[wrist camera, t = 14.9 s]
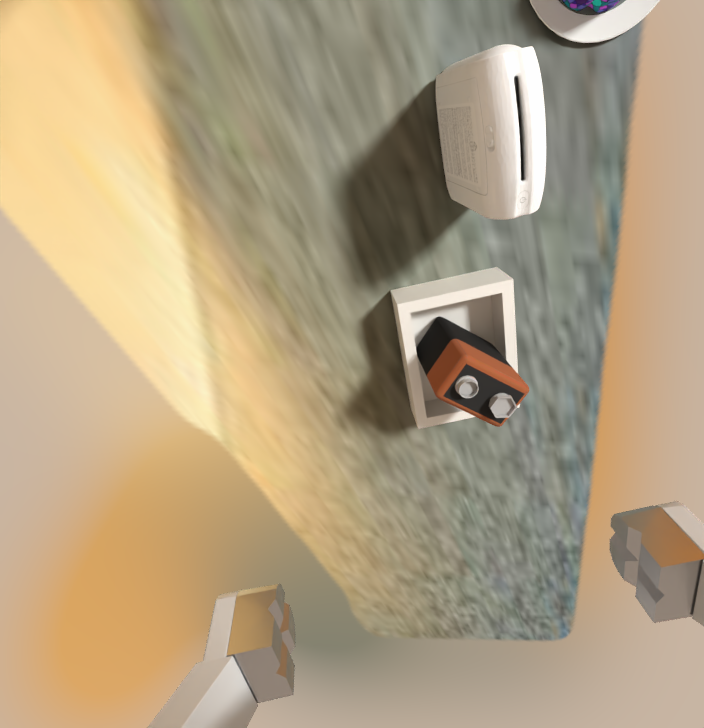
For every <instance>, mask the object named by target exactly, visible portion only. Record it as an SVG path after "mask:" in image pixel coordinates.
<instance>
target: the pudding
mask: <svg viewBox="0 0 704 728" xmlns="http://www.w3.org/2000/svg"><path fill="white" fill-rule="evenodd" d="M619 1H620V0H563V2H564V3H565V4H566V5H567V6H568V7H569V8H570V9H573V10H576V11H580V10H581V9H583V8H585V7H587V6H590V7H591V8H592V9H593V10H594V11H595V12H603V11H607V10H608V9H610V8H612V7H613V6H615V5H616V4H617V3H618V2H619ZM659 1H660V0H626V1H625V2H624V3H622V4H621V5H619V6H618V7H616V8H615V9H613V10H610V11H608V12H606V13H602V14H598V15H582V14H577V13H575V12H573V11H571V10H569V9H567V8H566V7H565V6H563V5H562V4H561V3H560V2H559V1H558V0H530V3H531V5H532V7H533V8H534V10H535V12H536V13H537V15H538V17H539V18H540V19H541V20H542V21H543V23H544V24H545V25H546V26H547V27H548V28H549V29H551V30H552V31H553V32H555V33H556V34H557V35H559V36H561V37H563V38H566V39H568V40H570V41H576V42H581V43H593V42H600V41H604V40H608V39H612V38H614V37H616V36H618V35H620V34H622V33H624V32H626V31H627V30H629V29H630V28H632V27H633V26H635V25H636V24H638V23H639V22H640V21H641V20H642V19H643V18H644V17H645V16H646V15H647V14H648V13H650V11H651V10H652V9H653V8H654V7H655V5H656V4H657V3H658V2H659Z"/></svg>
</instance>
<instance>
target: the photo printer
mask: <svg viewBox="0 0 704 728" xmlns="http://www.w3.org/2000/svg"><path fill="white" fill-rule="evenodd" d="M436 106H437V116H438V125H439V134H440V143H441V150H442V158H443V166H444V173H445V179H446V184H447V188H448V192H449V195H450V197H451V199H452V200H454V201H456V202H458V203H460V204H462V205H464V206H466V207H468V208H469V209H471V210H473V211H475V212H477V213H479V214H481V215H482V216H484V217H486V218H489V219H513V218H517V217H520V216H522V215H526V214H531V213H533V212H535V211H537V210H538V208H539V207H540V203H541V199H542V195H543V190H544V182H545V170H546V124H545V107H544V96H543V87H542V80H541V73H540V69H539V64H538V60H537V57H536V54H535V51H534V48H533V47H532V46H530V47H525V48H520V47H518V46H515V45H510V44H506V45H499V46H496V47H493V48H491V49H488V50H486V51H483V52H481V53H478V54H476V55H473V56H471V57H468V58H466V59H463V60H461V61H458V62H456V63H454V64H452V65H450V66H448V67H447V68H446V69H445V70H444V71H443V72H442V73H441V74H438V75H437V77H436Z"/></svg>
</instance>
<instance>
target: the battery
mask: <svg viewBox="0 0 704 728" xmlns="http://www.w3.org/2000/svg"><path fill="white" fill-rule="evenodd" d="M416 352H417V357H418V359H419V361H420V363H421V365H422V368H423V370H424V372H425V374H426V376H427V378H428V380H429V383H430V385H431V387H432V389H433V391H434V393H435V395H436V397H437V398H438V399H440V400H442V401H444V402H446V403H448V404H450V405H452V406H454V407H457V408H459V409H461V410H463V411H465V412H467V413H469V414H471V415H473V416H475V417H477V418H479V419H482V420H484V421H486V422H488V423H490V424H492V425H494V426H498V427H499V426H502V425H503V423H504V422H505V421H506V420H507V418H509V417H510V416H511V415H512V413H513V412H514V411H515V410H516V408H517V406H518V405H519V403H520V402H521V401H522V400H523V398H524V397H525V396H526V395H527V393H528V392H529V387H528V385H527V384H526V383H525V382H524V381H523V379H522V378H521V377H520V376H519V375H518V374H517V372H516V371H515V370H514V369H513V368H512V366H511V365H510V364H509V363H508V362H507V361H506V359H505V358H504V357H503V356H502V355H501V353H500V352H499V351H498V350H497V349H496V347H495V346H494V345H493V344H492V343H490V342H488V341H486V340H484V339H483V338H481V337H479V336H477V335H475V334H473V333H471V332H470V331H468V330H466V329H464V328H462V327H460V326H458V325H457V324H455V323H453V322H451V321H449V320H447V319H445V318H443V317H440V316H439V317H437V318H436V319H435V320H434V322H433V323H432V325H431V326H430V328H429V329H428V331H427V332H426V334H425V335H424V337H423V338H422V340H421V341H420V343H419V344H418V346H417V347H416Z"/></svg>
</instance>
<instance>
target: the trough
mask: <svg viewBox="0 0 704 728" xmlns="http://www.w3.org/2000/svg"><path fill="white" fill-rule="evenodd" d="M390 292H391V298H392V303H393V309H394V315H395V321H396V326H397V332H398V338H399V344H400V349H401V355H402V361H403V367H404V373H405V378H406V384H407V390H408V396H409V401H410V407H411V410H412V413H413V416H414V419H415V421H416V424H417V427H418V429H420V428H425V427H430V426H434V425H439V424H444V423H448V422H453V421H458V420H462V419H467V418H472V417H475V416H473V415H471V414H469V413H467V412H465V411H463V410H461V409H459V408H457V407H454V406H452V405H450V404H448V403H446V402H444V401H442V400H440V399H438V398H437V397H436V395H435V393H434V391H433V389H432V387H431V385H430V383H429V380H428V378H427V376H426V374H425V372H424V370H423V368H422V365H421V363H420V361H419V359H418V357H417V352H416V347H417V346H418V344H419V343H420V341H421V340H422V338H423V337H424V335H425V334H426V332H427V331H428V329H429V328H430V326H431V325H432V323H433V322H434V320H435V319H436V318H437V317H439V316H440V317H443V318H445V319H447V320H449V321H451V322H453V323H455V324H457V325H458V326H460V327H462V328H464V329H466V330H468V331H470V332H471V333H473V334H475V335H477V336H479V337H481V338H483V339H484V340H486V341H488V342H490V343H492V344H493V345H494V346H495V347H496V349H497V350H498V351H499V352H500V353H501V355H502V356H503V357H504V358H505V359H506V361H507V362H508V363H509V364H510V365H511V366H512V368H513V369H514V370H515V371H516V372H517V374H518V364H517V345H516V325H515V305H514V286H513V279H512V278H511V277H510V276H508V275H507V274H506V273H504V272H503V271H502V270H500V269H499V268H498V267H494V268H489V269H485V270H480V271H476V272H471V273H467V274H462V275H458V276H453V277H448V278H444V279H439V280H435V281H430V282H426V283H421V284H417V285H412V286H408V287H403V288H398V289H394V290H390ZM519 407H520V403H519V405H518V406H517V408H519Z"/></svg>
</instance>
